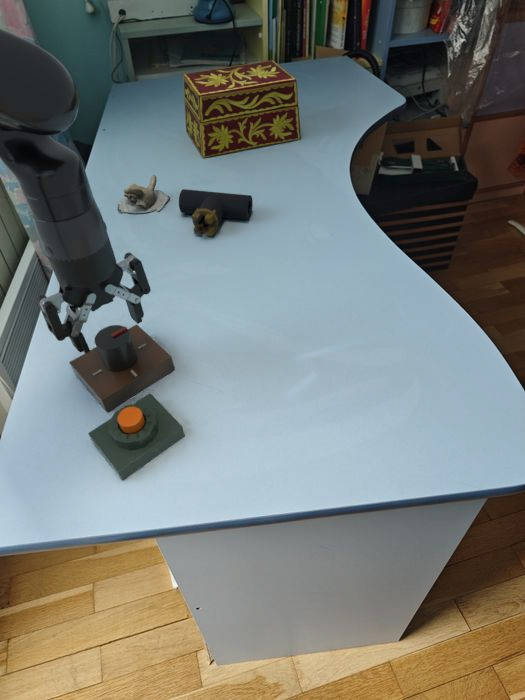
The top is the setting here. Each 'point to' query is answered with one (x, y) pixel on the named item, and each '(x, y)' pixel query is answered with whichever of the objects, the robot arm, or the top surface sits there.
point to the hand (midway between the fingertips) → (111, 334)
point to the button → (131, 420)
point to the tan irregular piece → (142, 198)
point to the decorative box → (241, 108)
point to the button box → (137, 437)
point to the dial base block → (128, 382)
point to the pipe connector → (213, 208)
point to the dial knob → (116, 348)
